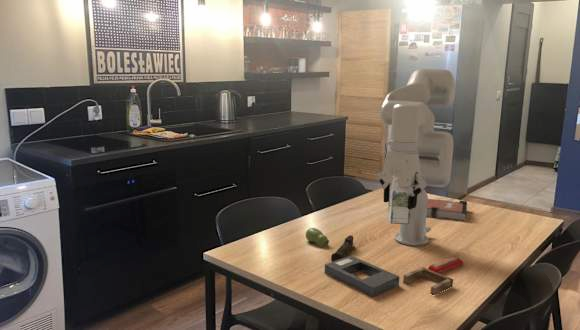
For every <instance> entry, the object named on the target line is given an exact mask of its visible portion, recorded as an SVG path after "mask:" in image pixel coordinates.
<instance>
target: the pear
mask: <svg viewBox="0 0 580 330" xmlns="http://www.w3.org/2000/svg"><path fill="white" fill-rule="evenodd" d="M305 238H306V240H307V241H308V242H309V243H316V245H317V246H318V247H320V248H323V247H327V246H329V243H330V240H329V239H328V237H327V235H324V232H322V230H320V229H318V228H316V227H309V228H308V229H307V230H306V231H305Z"/></svg>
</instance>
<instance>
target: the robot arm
mask: <svg viewBox="0 0 580 330" xmlns="http://www.w3.org/2000/svg"><path fill="white" fill-rule="evenodd" d="M455 97H456V85H455V78H454V75H453V73H452V72H451V71H450V70H448V69H442V68H441V69H437V68H436V69H434V68H430V69H429V68H422V69H421V68H420V69H417V70H415V71H413V72H412V73H411V75H410V76H409V78H408V82H407V83H406V85H404V86H401V87H399V88H396V89H395V90H394V89H393V90H391V92H389V93H388V94H387V95H386V97H385V98H384V100H383V102H382V105H381V109H380V120H381V122H382V123H383V124H385V125H386V126H387V125H388V126H391V131H390V139H389V140H388V141H387V145H389V147H390V148H389V149H387V152H386V154H385V158H384V163H383V169H382V170H381V171H379V172H377V174H376V175H377V177H378V180H379V183H380V185H382V189H383V203H389V188H390V184H392V177H393V175H394V176H397V177H399V178H398V186H400V187H404V188H408V190H409V192H410V196H409V197H408V209H411V211H410V224H399V229H398V230H399V231H398V232H397V233H396V234H394V240H395V241H396V242H398V243H400V244H403V245H407V246H411V247H412V246H414V247H419V246H420V247H421V246H425V245H427V244H428V243H429V240H430V239H429V237H428V236H427V233H429V232H431V231H432V228H431V227H430V226H427V204H428V199H429V197H428V192H427V191H426V187H435V188H446V187H447V186H448V185H449V184H450V181H451V175H452V174H451V173H452V167H453V166H452V164H453V154H454V137H453V135H452V134H451V133H449V132H447V131H439V130H438V131H437V130H434V128H435V120H436V118H435V115H434V113H433V112H432V110H431V109H430V107H429V106H441V107H448V106H451V105H452V104H453V103H454V100H455ZM420 156H421V157H429V158H430V157H433V158H437V159H438V160H434V159H433V160H432V159H424V158H423V159H422V158H420Z"/></svg>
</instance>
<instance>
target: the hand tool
mask: <svg viewBox="0 0 580 330" xmlns="http://www.w3.org/2000/svg"><path fill="white" fill-rule="evenodd" d="M353 245H354V236H353V235H348V236H347V237H345V239H344V242H343V244H341V245H340V246H339V247H338V249H337V250H336V251H335V252H333V253H332V254H331V257H330V261H331V262H333V261H336V260H339V259H342V258H345V257H347V256H348V254H349V252H352V249H353V247H354V246H353Z"/></svg>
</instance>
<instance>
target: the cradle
mask: <svg viewBox="0 0 580 330" xmlns="http://www.w3.org/2000/svg"><path fill="white" fill-rule="evenodd" d="M421 278H425V279H428V280H430V281H433V282H435V283H436V284H433V285H432V286H430V294H432V295H435V296H437V295H439V294H441V293H443V292H444V290H445V291H447V290H449V289H451V288H453V283H454V279H453V278H452V277H448V276H446V275H443V274H442V273H441V274H439V273H436V272H434V271H431V270H429V269H428V268H426V267H424V266H422V267H420V268H417V269H415V270H412V271H410V272H408V273H406V274H403V280H402V282H403V284H406V285H408V284H410V283H413V282H414V281H417V280H419V279H421ZM450 287H451V288H450ZM448 288H449V289H448ZM446 289H447V290H446ZM442 291H443V292H442ZM440 292H441V293H440ZM438 293H439V294H438ZM436 294H437V295H436ZM432 295H431V296H432Z"/></svg>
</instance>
